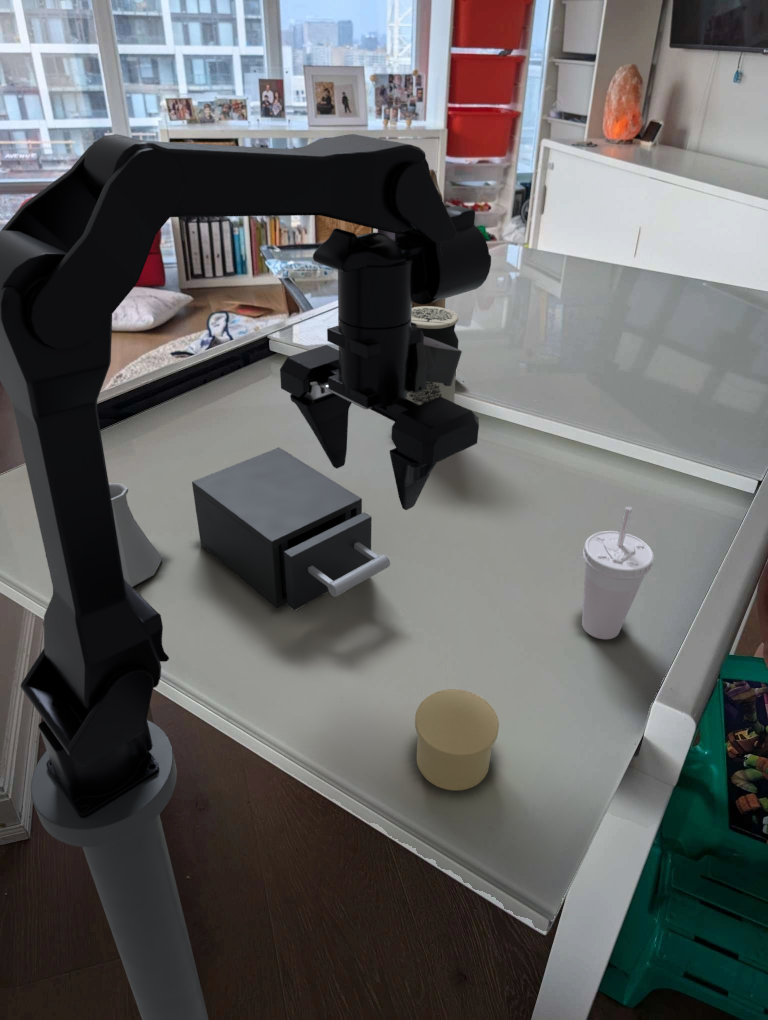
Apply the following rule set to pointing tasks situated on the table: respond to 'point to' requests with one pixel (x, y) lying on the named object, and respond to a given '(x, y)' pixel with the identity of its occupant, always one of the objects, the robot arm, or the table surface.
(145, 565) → the flask
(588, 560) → the smoothie
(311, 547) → the drawer
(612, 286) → the table surface
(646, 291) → the table surface
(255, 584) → the mini filing cabinet
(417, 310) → the travel mug
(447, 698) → the beige short cylinder
